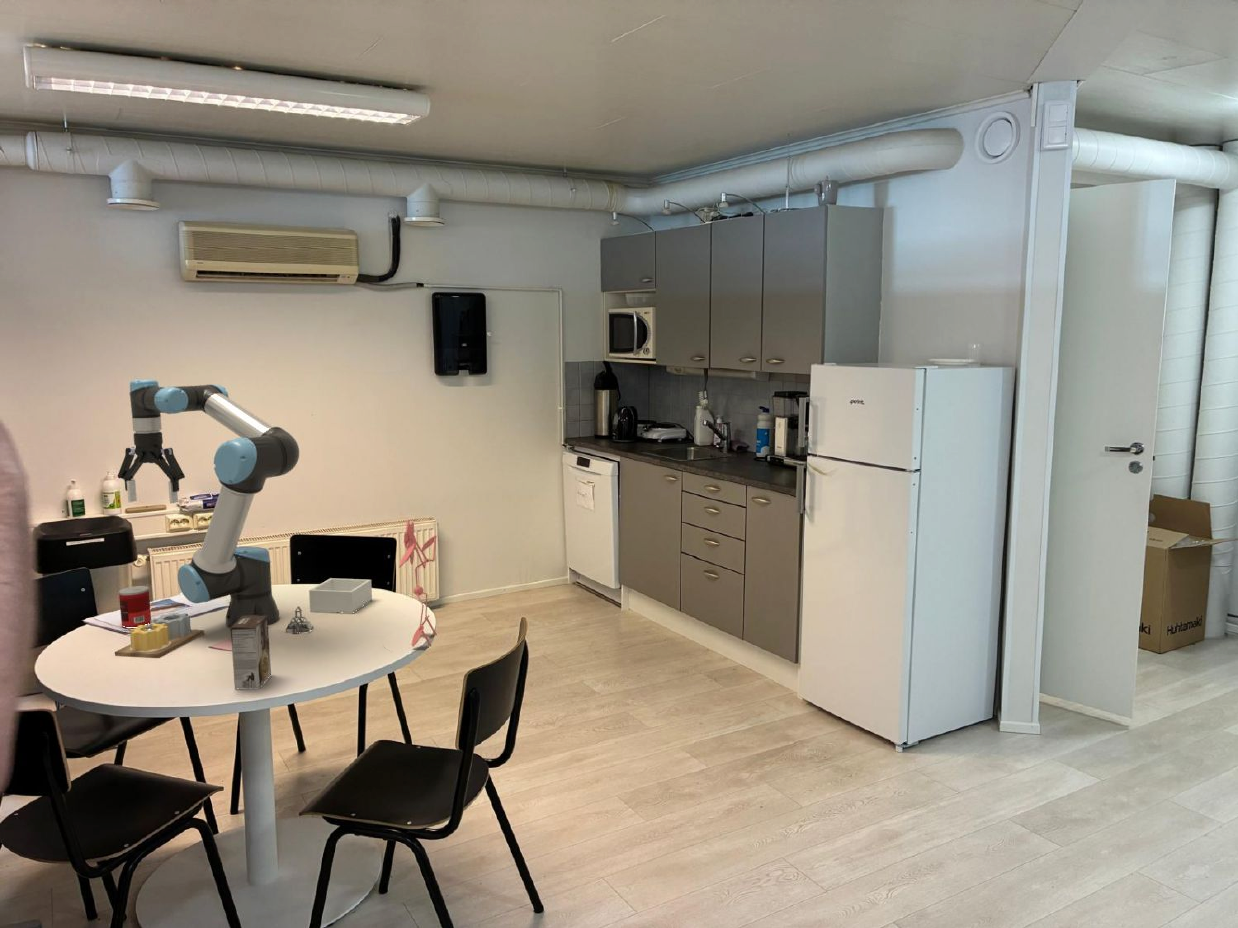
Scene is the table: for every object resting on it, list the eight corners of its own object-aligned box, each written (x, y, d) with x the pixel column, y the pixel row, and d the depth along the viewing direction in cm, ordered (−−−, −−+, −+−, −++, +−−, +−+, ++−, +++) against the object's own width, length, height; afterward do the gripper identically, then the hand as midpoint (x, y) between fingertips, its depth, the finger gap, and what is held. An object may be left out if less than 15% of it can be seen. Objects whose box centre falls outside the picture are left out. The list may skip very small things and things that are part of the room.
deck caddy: (372, 600, 286) (371, 579, 285) (352, 613, 272) (351, 592, 271) (331, 598, 288) (330, 578, 287) (310, 611, 274) (309, 590, 273)
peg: (157, 644, 242) (155, 622, 241) (151, 647, 239) (150, 625, 238) (149, 644, 242) (147, 622, 241) (143, 647, 240) (142, 625, 239)
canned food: (157, 620, 266) (154, 585, 264) (140, 629, 258) (137, 593, 257) (133, 620, 267) (130, 585, 265) (115, 628, 259) (112, 592, 257)
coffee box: (246, 676, 222) (242, 615, 219) (272, 675, 222) (268, 614, 220) (233, 690, 213) (229, 626, 210) (260, 689, 213) (256, 626, 211)
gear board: (204, 633, 254) (204, 629, 254) (158, 658, 234) (158, 653, 234) (163, 631, 256) (163, 627, 256) (115, 656, 236) (114, 651, 236)
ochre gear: (175, 640, 244) (174, 623, 244) (154, 651, 236) (152, 634, 235) (146, 639, 246) (145, 622, 245) (124, 650, 237) (122, 632, 236)
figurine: (444, 625, 260) (440, 511, 256) (429, 656, 235) (424, 529, 230) (392, 626, 260) (387, 511, 255) (371, 657, 234) (366, 530, 229)
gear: (197, 629, 254) (195, 609, 253) (177, 640, 245) (175, 619, 244) (169, 628, 255) (167, 608, 254) (148, 638, 246) (146, 617, 245)
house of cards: (272, 638, 251) (270, 613, 250) (285, 628, 259) (283, 604, 258) (302, 639, 250) (301, 613, 249) (314, 629, 259) (313, 604, 258)
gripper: (194, 430, 260) (199, 500, 263) (118, 429, 264) (124, 498, 267) (178, 433, 253) (183, 505, 256) (100, 432, 257) (106, 503, 260)
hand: (153, 502), depth 261 cm, fingers open, 13 cm apart
